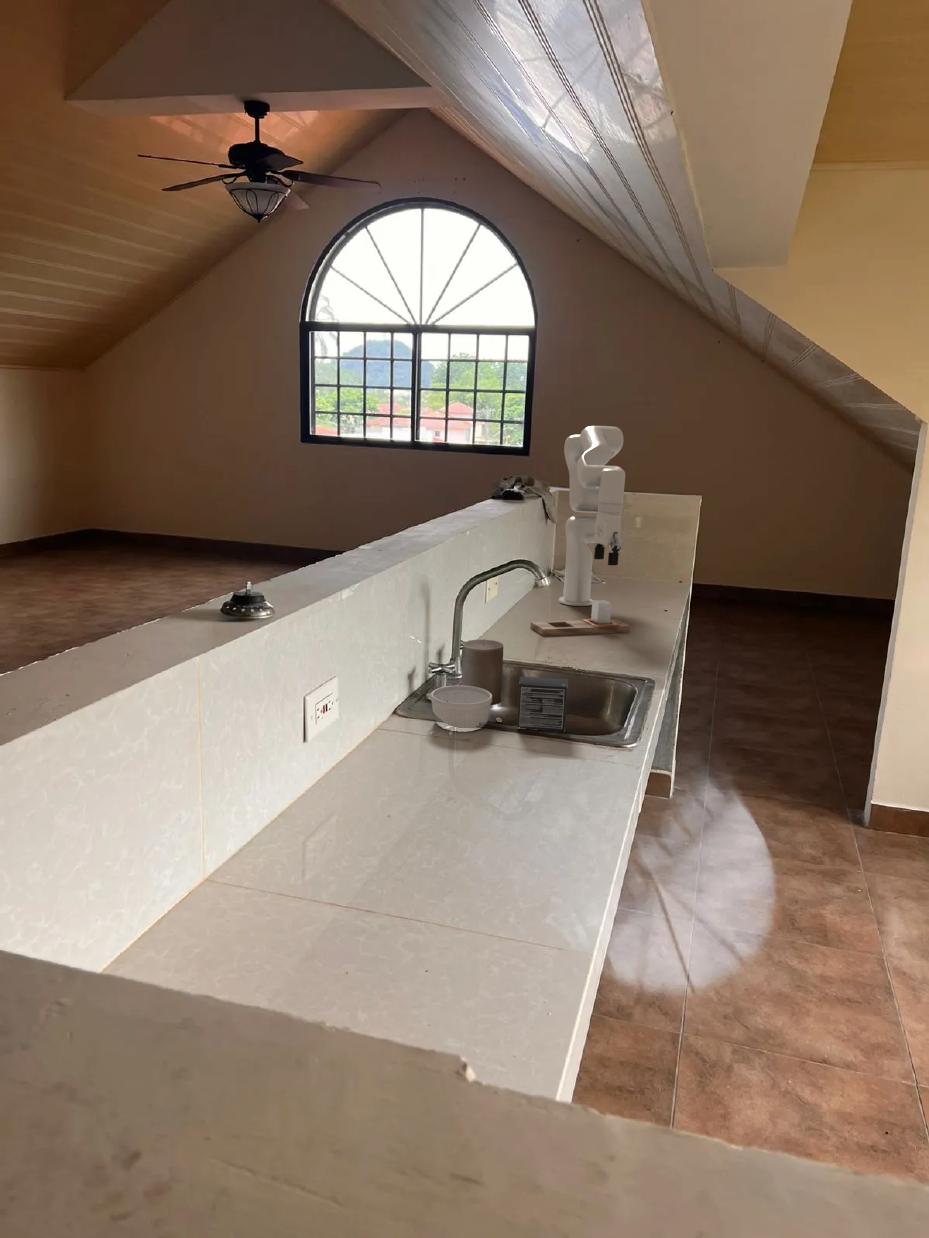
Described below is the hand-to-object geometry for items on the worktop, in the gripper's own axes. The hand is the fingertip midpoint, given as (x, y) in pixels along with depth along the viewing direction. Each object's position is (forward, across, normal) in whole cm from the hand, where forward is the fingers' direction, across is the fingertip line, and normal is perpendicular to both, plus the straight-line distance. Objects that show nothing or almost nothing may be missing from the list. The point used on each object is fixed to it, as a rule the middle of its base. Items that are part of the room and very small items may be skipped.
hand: (605, 562), depth 288 cm
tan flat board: (+21, +3, -8) cm, 23 cm away
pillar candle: (+20, +64, -63) cm, 92 cm away
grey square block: (+21, +3, -2) cm, 22 cm away
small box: (+19, +84, -56) cm, 103 cm away
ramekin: (+19, +80, -73) cm, 109 cm away
